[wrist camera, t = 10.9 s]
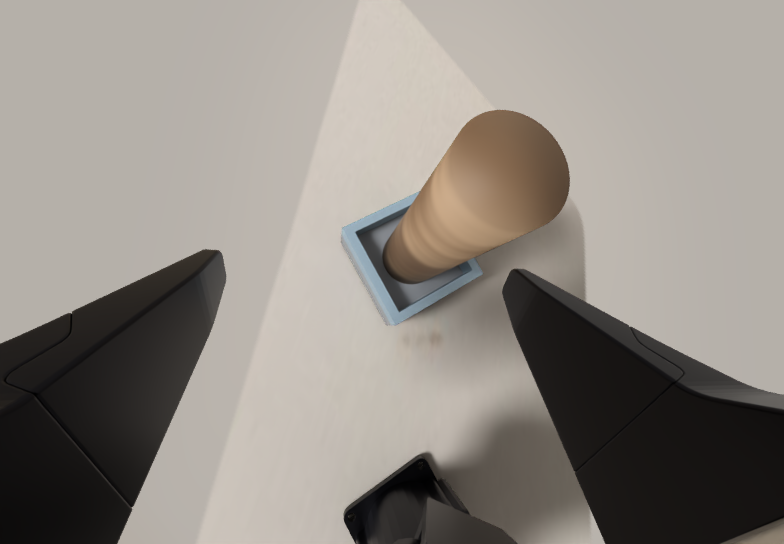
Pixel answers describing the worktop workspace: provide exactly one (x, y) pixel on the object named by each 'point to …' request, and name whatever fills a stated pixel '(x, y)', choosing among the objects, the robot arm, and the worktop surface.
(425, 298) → the light blue open box
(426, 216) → the pillar
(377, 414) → the worktop surface
